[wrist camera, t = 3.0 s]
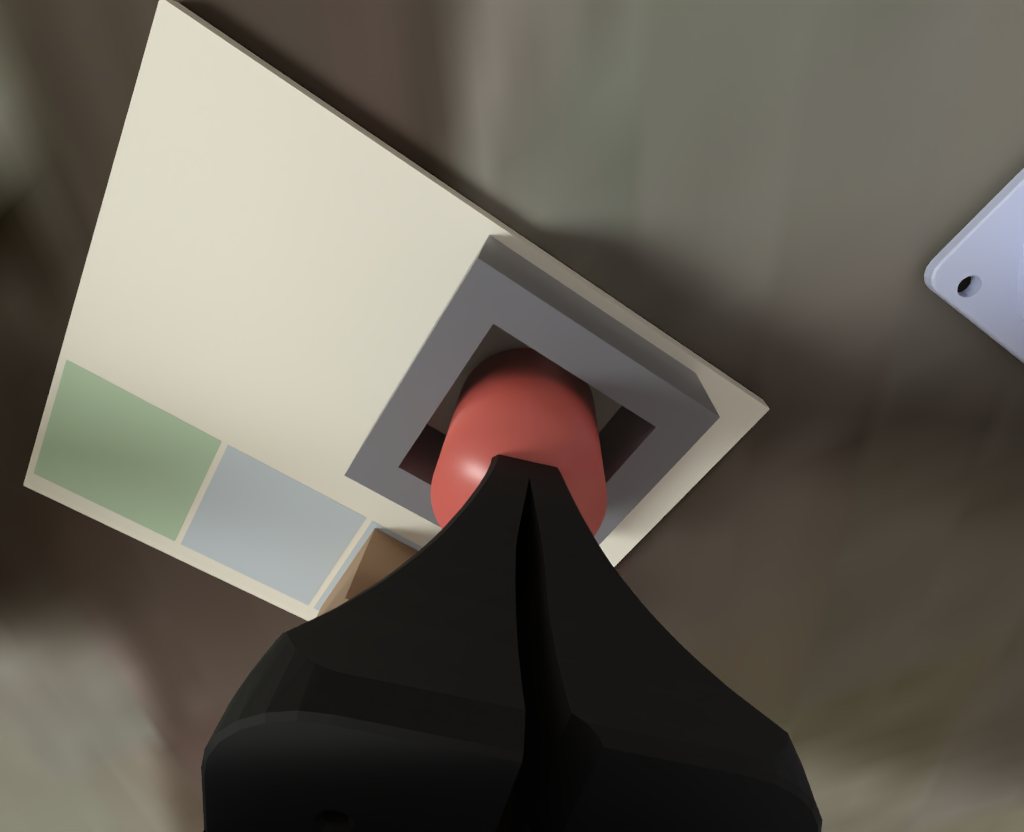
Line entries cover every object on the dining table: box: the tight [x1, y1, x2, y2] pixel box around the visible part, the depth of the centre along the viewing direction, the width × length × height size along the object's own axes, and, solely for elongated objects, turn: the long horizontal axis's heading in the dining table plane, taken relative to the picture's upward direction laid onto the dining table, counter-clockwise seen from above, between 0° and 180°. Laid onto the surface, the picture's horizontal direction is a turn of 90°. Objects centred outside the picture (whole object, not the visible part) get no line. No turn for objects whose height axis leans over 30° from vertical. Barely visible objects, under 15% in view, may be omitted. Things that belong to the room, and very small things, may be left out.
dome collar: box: [344, 235, 720, 545], centre depth 15 cm, size 6×6×2 cm
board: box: [23, 0, 770, 621], centre depth 17 cm, size 17×15×1 cm
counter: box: [317, 528, 418, 617], centre depth 18 cm, size 4×4×3 cm
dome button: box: [431, 348, 607, 536], centre depth 14 cm, size 4×4×4 cm
